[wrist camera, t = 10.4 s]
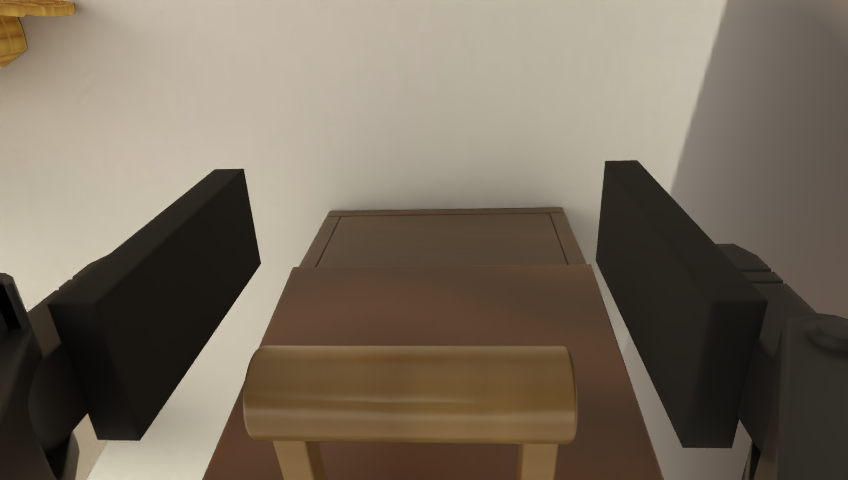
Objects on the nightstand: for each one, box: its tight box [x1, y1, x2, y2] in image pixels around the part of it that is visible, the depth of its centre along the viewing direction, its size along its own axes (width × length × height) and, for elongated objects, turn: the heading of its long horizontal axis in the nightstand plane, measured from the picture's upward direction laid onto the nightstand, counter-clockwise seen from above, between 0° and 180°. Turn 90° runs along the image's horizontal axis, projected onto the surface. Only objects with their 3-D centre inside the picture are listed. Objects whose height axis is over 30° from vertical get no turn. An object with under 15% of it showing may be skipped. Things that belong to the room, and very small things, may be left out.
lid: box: [202, 264, 664, 480], centre depth 17 cm, size 14×13×7 cm
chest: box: [299, 208, 586, 267], centre depth 31 cm, size 14×13×7 cm
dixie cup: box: [73, 414, 108, 480], centre depth 34 cm, size 8×8×10 cm
